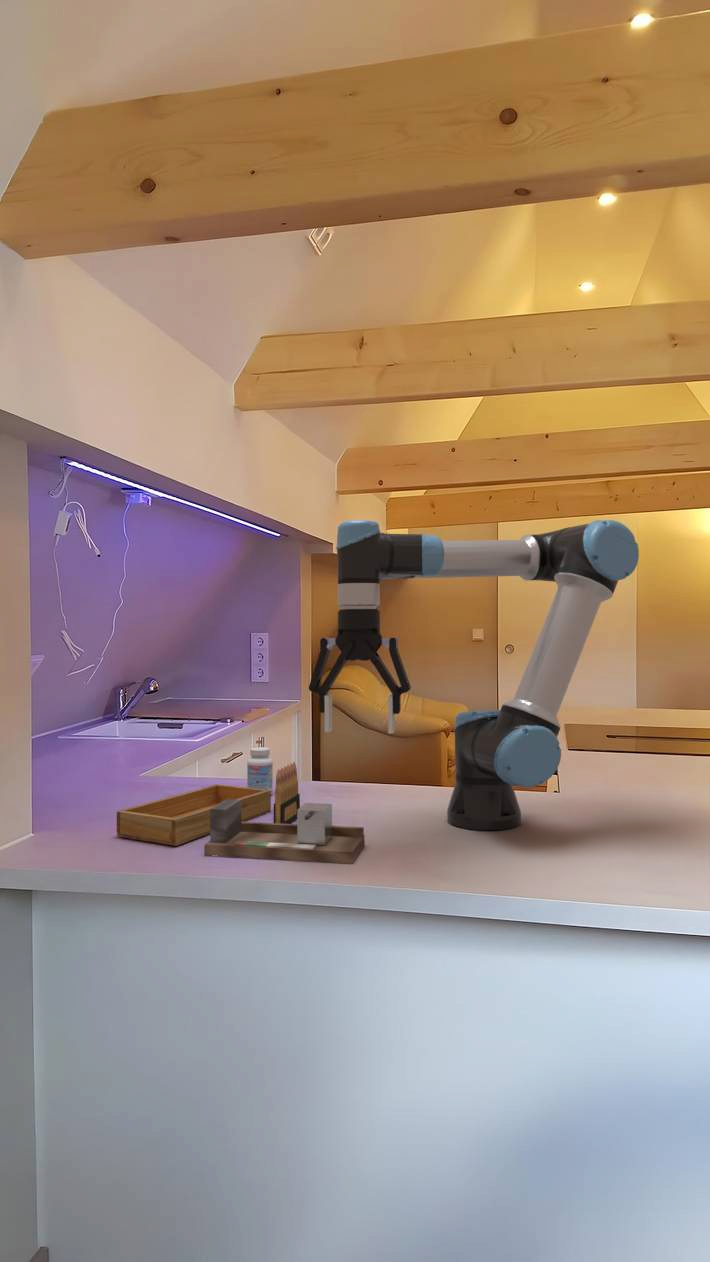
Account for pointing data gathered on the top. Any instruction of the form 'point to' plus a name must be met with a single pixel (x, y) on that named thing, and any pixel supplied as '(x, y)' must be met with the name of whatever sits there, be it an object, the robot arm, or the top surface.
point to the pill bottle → (260, 769)
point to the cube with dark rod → (314, 823)
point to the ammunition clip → (286, 795)
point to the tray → (187, 814)
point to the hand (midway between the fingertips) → (359, 731)
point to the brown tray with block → (276, 839)
